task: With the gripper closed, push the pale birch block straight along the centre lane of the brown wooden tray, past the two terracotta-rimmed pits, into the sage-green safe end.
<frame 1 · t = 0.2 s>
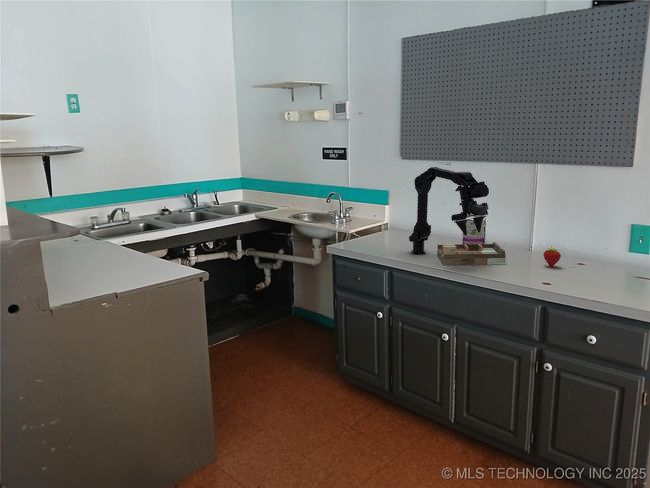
hand: (472, 233, 229), 15 cm above the worktop, tool pointing down, fingers open, 9 cm apart
brown wooden tray: (469, 259, 244), on the worktop
candy bar box: (473, 249, 262), on the worktop
birch block: (449, 253, 244), point 3 cm above the worktop, touching brown wooden tray
strawberry: (551, 267, 228), on the worktop
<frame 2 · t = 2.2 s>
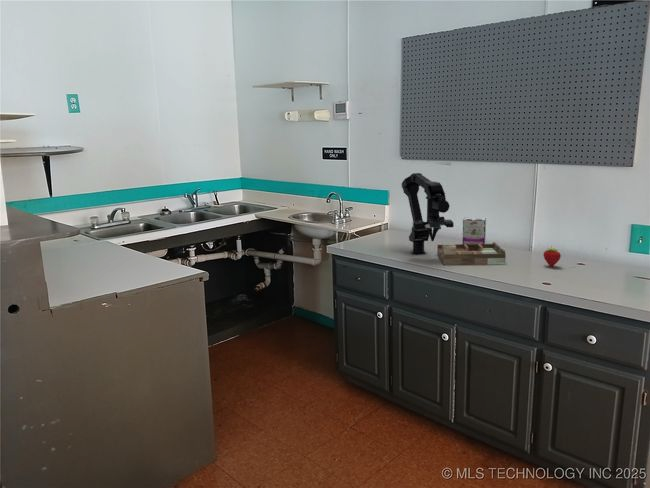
hand: (432, 241, 244), 9 cm above the worktop, tool pointing down, fingers closed
nothing on the worktop moved.
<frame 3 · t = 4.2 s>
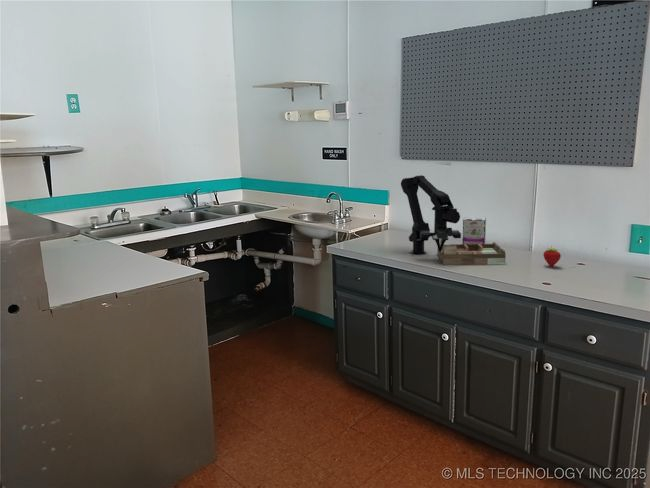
hand: (439, 251, 244), 4 cm above the worktop, tool pointing down, fingers closed
birch block: (449, 253, 244), point 3 cm above the worktop, touching gripper
everything else where it was.
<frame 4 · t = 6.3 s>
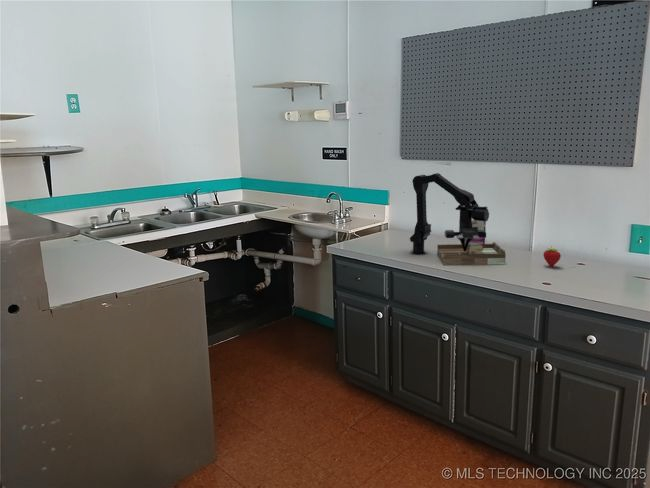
hand: (464, 251, 244), 4 cm above the worktop, tool pointing down, fingers closed
birch block: (474, 253, 244), point 3 cm above the worktop, touching gripper, brown wooden tray
everything else where it was.
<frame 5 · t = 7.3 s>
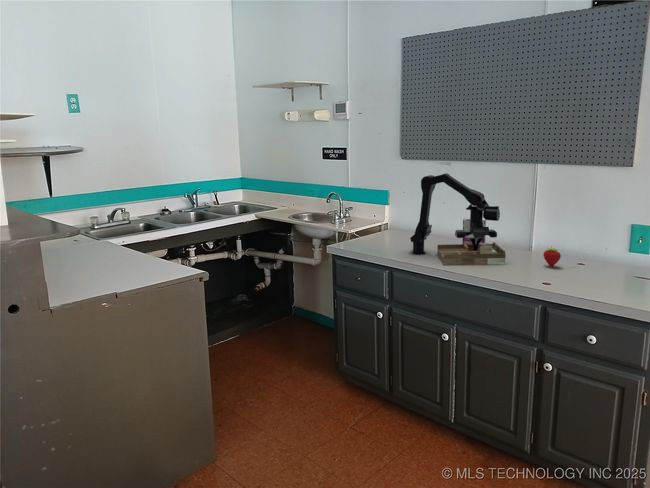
hand: (475, 251, 243), 4 cm above the worktop, tool pointing down, fingers closed
birch block: (484, 252, 243), point 3 cm above the worktop, touching gripper
everything else where it was.
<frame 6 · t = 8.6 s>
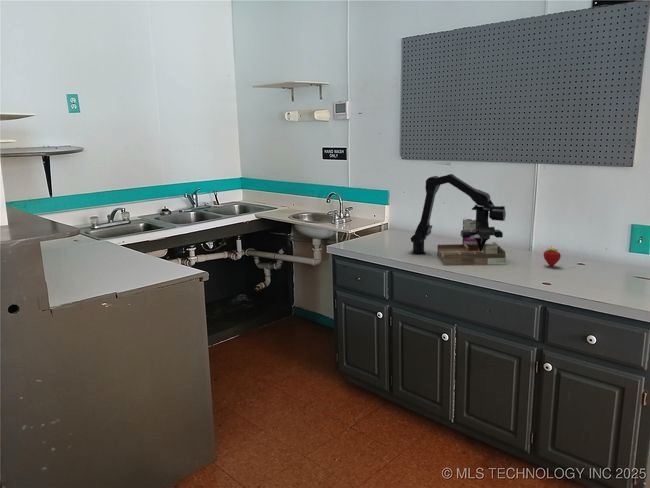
hand: (480, 251, 243), 4 cm above the worktop, tool pointing down, fingers closed
birch block: (490, 252, 243), point 3 cm above the worktop, touching gripper, brown wooden tray
everything else where it was.
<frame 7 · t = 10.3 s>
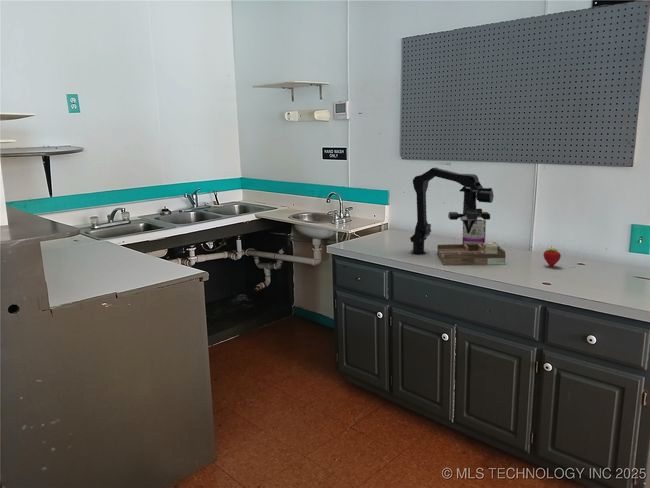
hand: (468, 233, 243), 13 cm above the worktop, tool pointing down, fingers closed
birch block: (490, 252, 243), point 3 cm above the worktop, touching brown wooden tray
everything else where it was.
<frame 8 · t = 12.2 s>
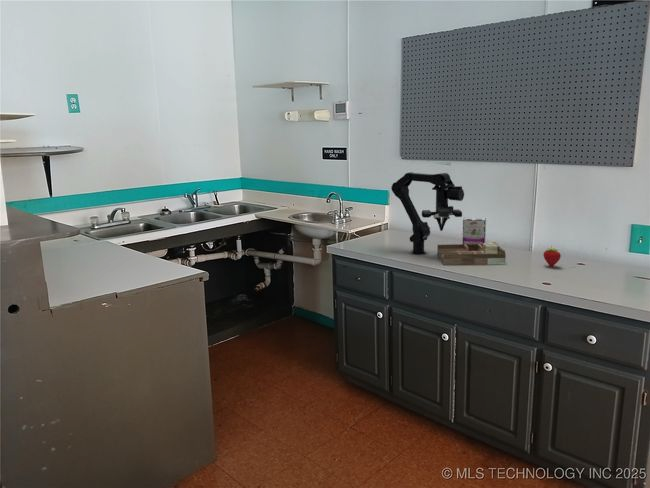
hand: (441, 230, 248), 13 cm above the worktop, tool pointing down, fingers closed
nothing on the worktop moved.
at the end: birch block 0.2 cm from the target spot on the brown wooden tray, point 3.0 cm above the brown wooden tray's base; birch block tilted 0° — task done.
